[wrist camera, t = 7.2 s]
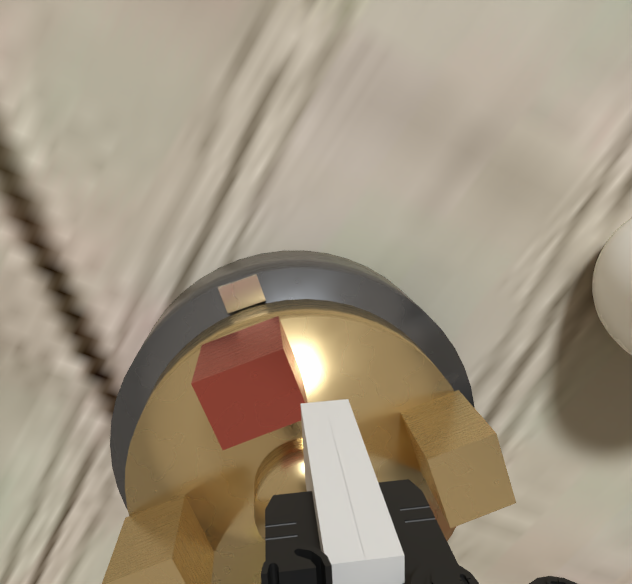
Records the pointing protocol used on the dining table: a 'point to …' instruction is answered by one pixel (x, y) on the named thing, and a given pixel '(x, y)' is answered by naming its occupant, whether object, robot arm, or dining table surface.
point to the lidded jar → (615, 286)
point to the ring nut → (287, 437)
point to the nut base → (259, 288)
